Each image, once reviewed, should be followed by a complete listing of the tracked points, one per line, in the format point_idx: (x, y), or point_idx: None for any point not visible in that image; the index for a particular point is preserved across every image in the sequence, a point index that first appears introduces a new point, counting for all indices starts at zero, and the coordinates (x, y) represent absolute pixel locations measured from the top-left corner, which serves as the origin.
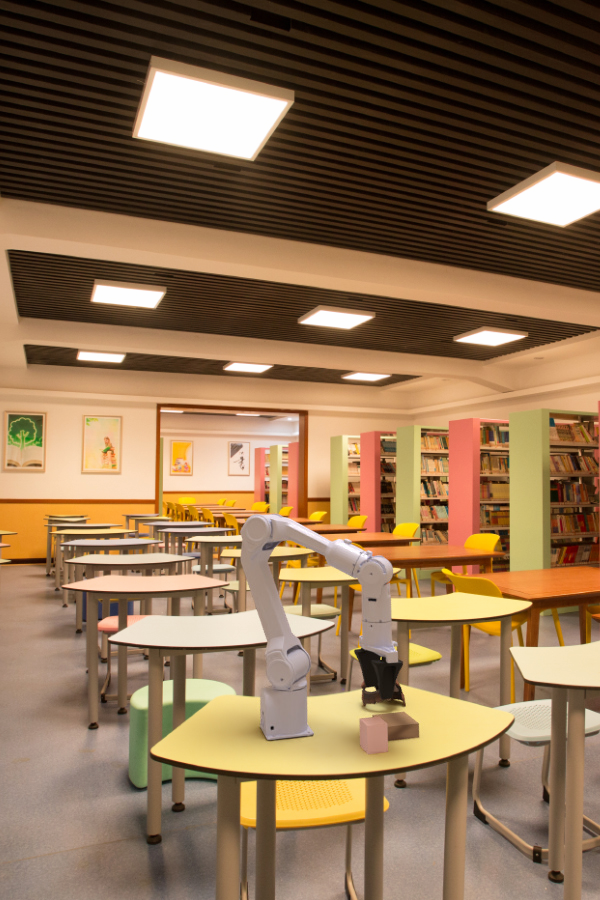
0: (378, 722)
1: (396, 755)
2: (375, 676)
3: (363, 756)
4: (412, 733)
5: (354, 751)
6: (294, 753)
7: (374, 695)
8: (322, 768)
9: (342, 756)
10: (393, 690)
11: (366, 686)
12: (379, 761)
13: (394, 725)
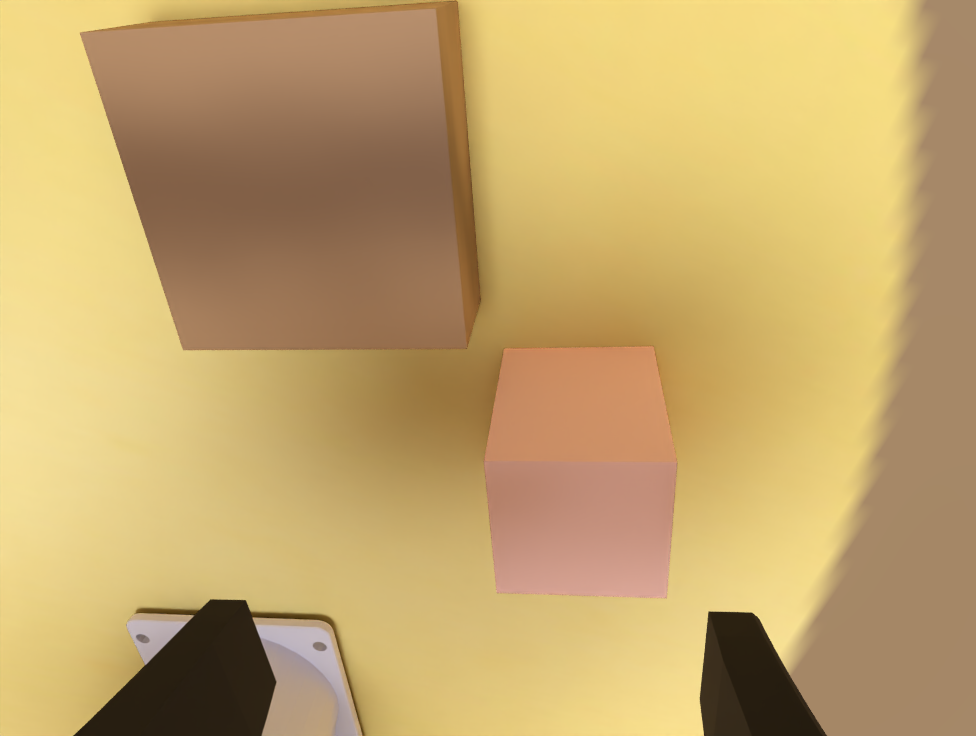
0: (625, 511)
1: (734, 318)
2: (180, 716)
3: None
4: (455, 77)
5: None
6: (527, 720)
7: None
8: None
9: None
10: (801, 699)
11: (272, 694)
12: (774, 441)
13: (448, 268)
